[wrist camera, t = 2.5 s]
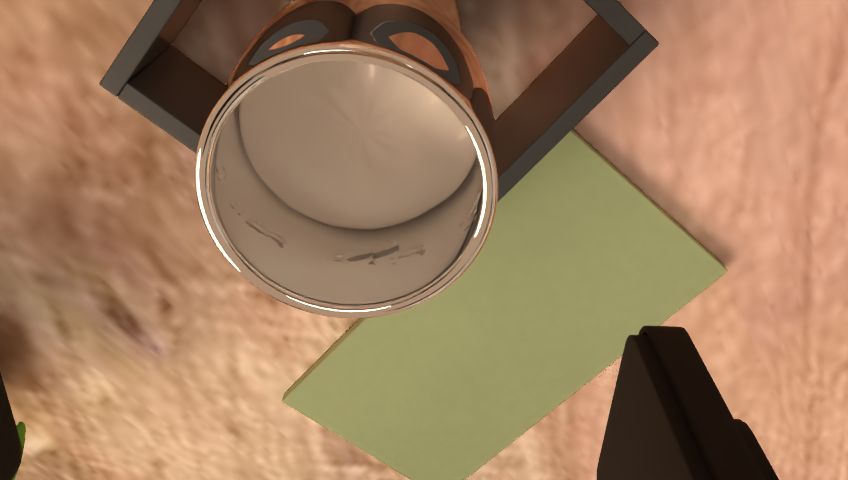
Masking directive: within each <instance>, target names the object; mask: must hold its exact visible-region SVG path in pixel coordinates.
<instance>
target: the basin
mask: <svg viewBox="0 0 848 480" xmlns="http://www.w3.org/2000/svg"><path fill="white" fill-rule="evenodd" d="M584 1H585V2H586V3H587V4H588V5H589V6H590V7H591V8H592V9H593V10H594V11H595V12H596V13H597V14H598V15H597V16H596V17H595V18H594V19H593V20H592V21H591V22H590V24H589V25H588V26H587V27H586V28H585V29H584V30H583V31H582V32H581V33H580V34H579V35H578V36H577V37H576V38H575V39H574V40H573V41H572V42H571V43H570V44H569V45H568V46H567V47H566V49H565V50H564V51H563V52H562V53H561V54H560V55H559V56H558V57H557V58H556V59H555V60H554V61H553V62H552V63H551V64H550V65H549V66H548V67H547V68H546V69H545V70H544V71H543V72H542V73H541V75H540V76H539V77H538V78H537V79H536V80H535V81H534V82H533V83H532V84H531V85H530V86H529V87H528V88H527V89H526V90H525V91H524V92H523V93H522V94H521V95H520V96H519V97H518V98H517V100H516V101H515V102H514V103H513V104H512V105H511V106H510V107H509V108H508V109H507V110H506V111H505V112H504V113H503V114H502V115H501V116H500V117H499V118H498V119H497V120H496V121H495V122H494V123H495V134H496V168H497V175H498V200H497V202H498V201H499V200H500V199H501V198H503V197H504V196H505V195H506V194H507V193H508V192H509V191H510V190H511V189H512V188H513V187H514V186H515V185H516V184H517V183H518V182H519V181H520V180H521V179H522V178H523V177H524V176H525V175H526V174H527V173H528V172H529V171H530V170H531V169H532V168H533V167H534V166H535V165H536V164H537V163H538V162H539V161H540V160H541V159H542V158H543V157H544V156H545V155H546V154H547V153H548V152H549V151H551V150H552V149H553V148H554V147H555V146H556V145H557V144H558V143H559V142H560V141H561V140H562V139H563V138H564V137H565V136H566V135H567V134H568V133H569V132H570V131H571V130H572V129H573V128H574V127H575V126H576V125H577V124H578V123H579V122H580V121H581V120H582V119H583V118H584V117H585V116H586V115H587V114H588V113H589V112H590V111H591V110H592V109H593V108H594V107H595V106H596V105H598V104H599V103H600V102H601V101H602V100H603V99H604V98H605V97H606V96H607V95H608V94H609V93H610V92H611V91H612V90H613V89H614V88H615V87H616V86H617V85H618V84H619V83H620V82H621V81H622V80H623V79H624V78H625V77H626V76H627V75H628V74H629V73H630V72H631V71H632V70H633V69H634V68H635V67H636V66H637V65H638V64H639V63H640V62H641V61H642V60H643V59H644V58H646V57H647V56H648V55H649V54H650V53H651V52H652V51H653V50H654V49H655V48H656V47H657V46H658V44H659V43H658V41H657V40H656V39H655V38H654V37H653V36H652V35H651V34H650V33H649V32H648V31H647V30H646V29H645V28H644V27H643V26H642V25H641V24H640V23H639V22H638V21H637V20H636V19H635V18H634V17H633V16H632V15H631V14H630V13H629V12H628V11H627V10H626V9H625V8H624V7H623V6H622V5H621V4H620V3H619V2H618V1H617V0H584ZM200 2H201V0H154V1H153V3H152V4H151V6H150V7H149V9H148V10H147V12H146V13H145V15H144V16H143V18H142V19H141V21H140V22H139V24H138V25H137V27H136V28H135V30H134V31H133V33H132V34H131V36H130V37H129V39H128V40H127V42H126V44H125V45H124V47H123V48H122V50H121V51H120V53H119V54H118V56H117V57H116V59H115V60H114V62H113V63H112V65H111V66H110V68H109V69H108V71H107V72H106V74H105V75H104V77H103V78H102V80H101V81H100V85H101V86H102V87H103V88H105V89H106V90H108V91H109V92H110V93H112V94H113V95H115V96H118V98H119V99H120V100H122V101H123V102H125V103H126V104H127V105H129V106H130V107H132V108H133V109H134V110H136V111H137V112H139V113H140V114H142V115H143V116H144V117H146V118H147V119H149V120H150V121H151V122H153V123H154V124H156V125H157V126H158V127H160V128H161V129H163V130H164V131H166V132H167V133H168V134H170V135H171V136H173V137H174V138H175V139H177V140H178V141H180V142H181V143H183V144H184V145H185V146H187V147H188V148H190V149H191V150H192V151H194V152H195V153H197V147H198V143H199V139H200V136H201V133H202V130H203V128H204V125H205V123H206V121H207V119H208V117H209V115H210V113H211V112H212V110H213V108H214V107H215V105H216V104H217V102H218V101H219V99H220V96H221V94H222V92H223V90H224V88H225V85H224V84H222V83H221V82H220V81H218V80H217V79H216V78H214V77H213V76H212V75H210V74H209V73H208V72H206V71H205V70H204V69H202V68H201V67H200V66H198V65H197V64H196V63H194V62H193V61H192V60H190V59H189V58H188V57H186V56H185V55H184V54H183V53H181V52H180V51H179V50H177V49H176V48H175V47H173V46H172V45H171V44H172V42H173V41H174V39H175V38H176V36H177V35H178V34H179V32H180V31H181V29H182V28H183V26H184V25H185V23H186V22H187V21H188V19H189V18H190V16H191V15H192V13H193V12H194V10H195V9H196V8H197V6H198V5H199V3H200ZM170 45H171V46H170Z"/></svg>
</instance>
